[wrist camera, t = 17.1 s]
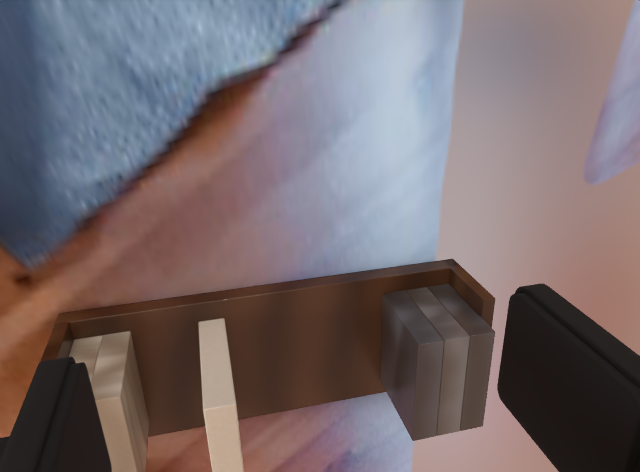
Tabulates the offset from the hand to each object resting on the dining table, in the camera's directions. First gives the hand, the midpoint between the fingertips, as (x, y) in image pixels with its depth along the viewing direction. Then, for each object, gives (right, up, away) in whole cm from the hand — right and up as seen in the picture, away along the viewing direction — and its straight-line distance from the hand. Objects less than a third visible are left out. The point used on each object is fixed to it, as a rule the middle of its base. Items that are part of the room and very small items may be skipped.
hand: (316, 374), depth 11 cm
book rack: (-4, -6, +34) cm, 34 cm away
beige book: (-8, -8, +31) cm, 33 cm away
